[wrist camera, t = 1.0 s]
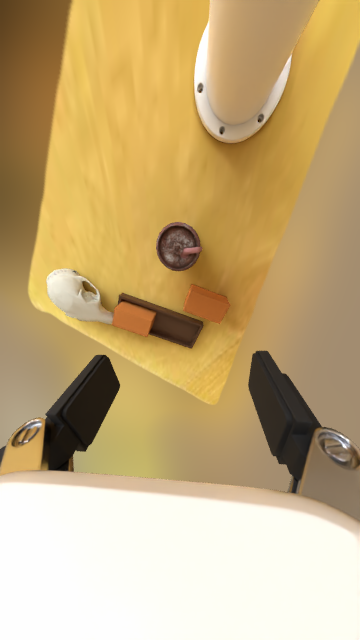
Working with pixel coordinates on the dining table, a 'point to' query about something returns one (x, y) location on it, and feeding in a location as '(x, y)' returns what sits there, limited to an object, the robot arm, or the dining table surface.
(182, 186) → the dining table surface
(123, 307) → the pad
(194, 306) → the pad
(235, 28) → the robot arm
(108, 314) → the animal skull
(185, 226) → the can
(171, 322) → the frame
